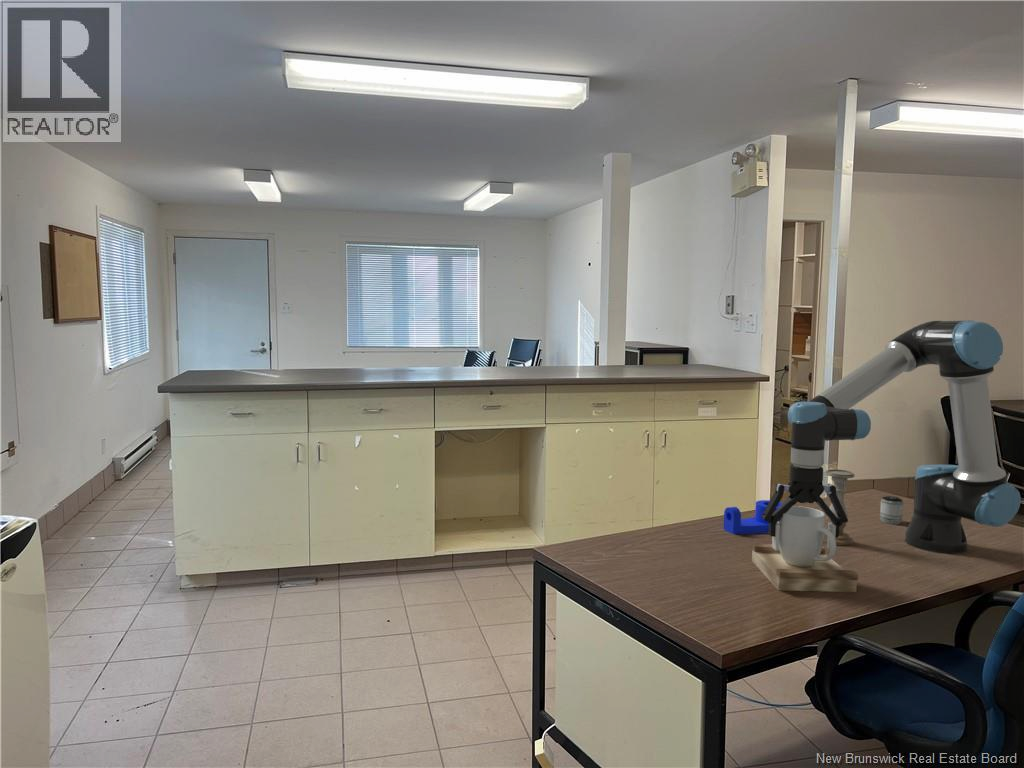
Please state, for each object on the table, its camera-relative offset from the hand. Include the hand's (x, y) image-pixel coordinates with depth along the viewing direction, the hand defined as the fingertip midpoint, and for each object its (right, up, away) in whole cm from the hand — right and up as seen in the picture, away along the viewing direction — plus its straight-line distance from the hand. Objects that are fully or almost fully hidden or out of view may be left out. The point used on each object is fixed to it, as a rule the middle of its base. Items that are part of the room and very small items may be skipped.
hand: (802, 549), depth 172 cm
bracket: (+2, -4, +39) cm, 39 cm away
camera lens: (+48, -3, +48) cm, 68 cm away
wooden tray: (0, -7, +1) cm, 7 cm away
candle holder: (+21, -5, +28) cm, 36 cm away
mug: (0, -4, 0) cm, 4 cm away
